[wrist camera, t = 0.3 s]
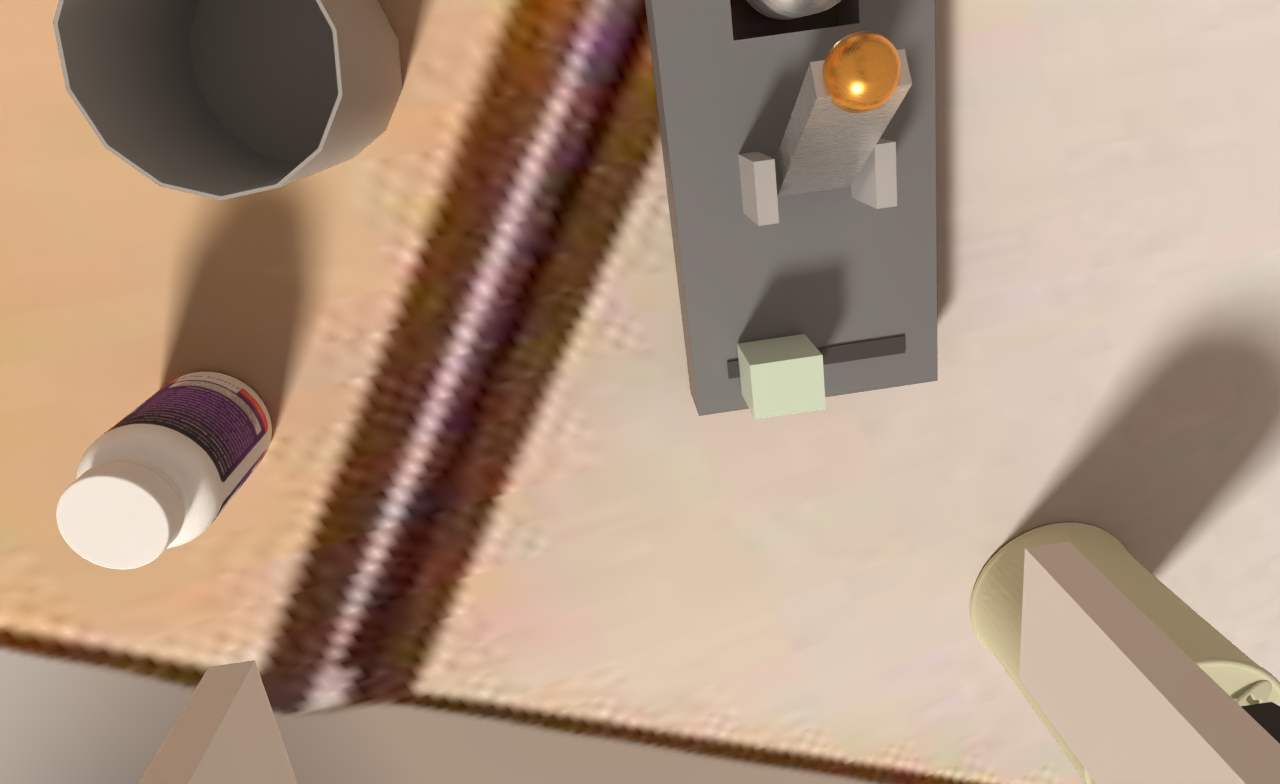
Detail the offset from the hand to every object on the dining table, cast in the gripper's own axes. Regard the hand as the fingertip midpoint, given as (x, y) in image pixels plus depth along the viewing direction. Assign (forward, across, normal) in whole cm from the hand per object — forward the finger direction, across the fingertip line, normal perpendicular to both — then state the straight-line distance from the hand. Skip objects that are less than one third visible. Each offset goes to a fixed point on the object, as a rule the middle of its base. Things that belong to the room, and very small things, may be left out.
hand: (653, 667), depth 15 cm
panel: (+27, +9, +9) cm, 30 cm away
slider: (+24, +7, -4) cm, 25 cm away
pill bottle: (+27, -19, -4) cm, 33 cm away
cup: (+27, -11, +11) cm, 31 cm away
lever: (+23, +9, +4) cm, 25 cm away
